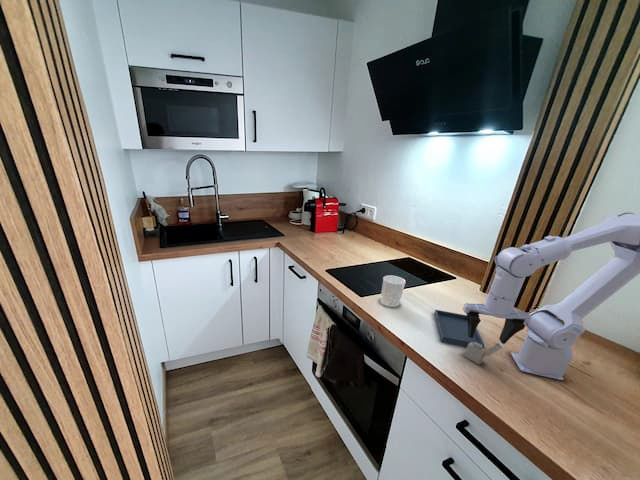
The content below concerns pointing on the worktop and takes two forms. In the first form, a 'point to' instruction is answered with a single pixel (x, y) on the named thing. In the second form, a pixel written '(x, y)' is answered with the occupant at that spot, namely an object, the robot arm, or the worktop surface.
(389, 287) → the white cup
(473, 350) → the lighter
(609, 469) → the worktop surface
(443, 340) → the tray
